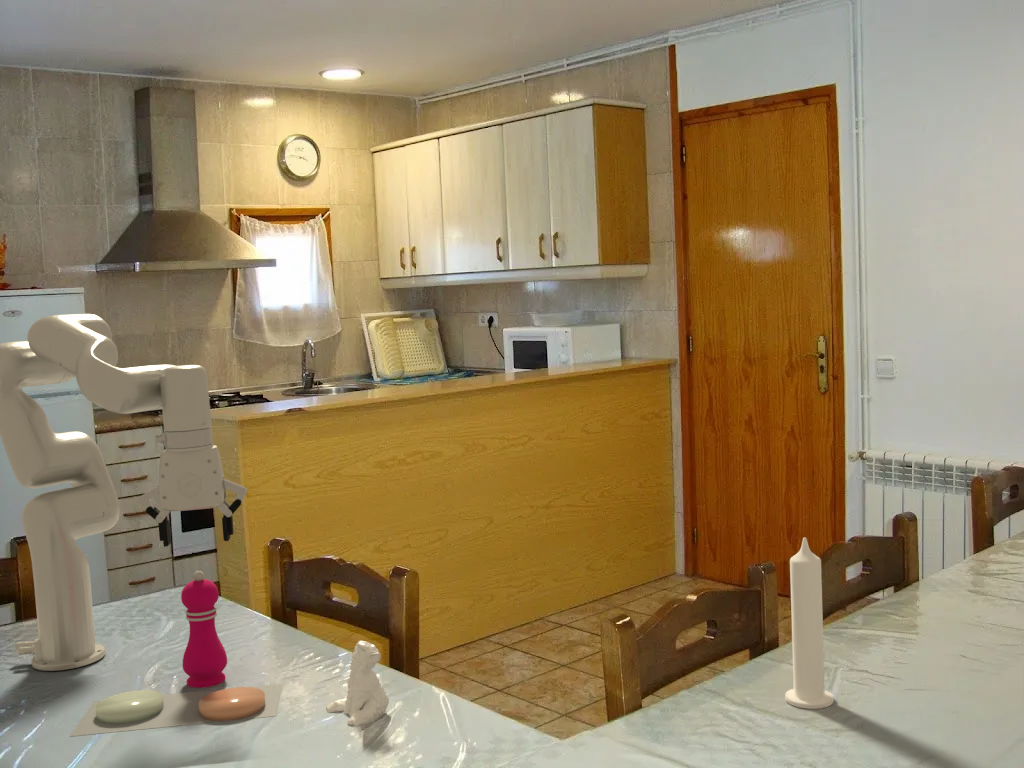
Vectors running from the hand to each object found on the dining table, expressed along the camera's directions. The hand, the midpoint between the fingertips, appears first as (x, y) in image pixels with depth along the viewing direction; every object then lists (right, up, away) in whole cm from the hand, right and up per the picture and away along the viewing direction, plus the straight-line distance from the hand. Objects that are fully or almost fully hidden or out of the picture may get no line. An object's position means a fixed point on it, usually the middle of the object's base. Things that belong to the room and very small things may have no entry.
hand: (197, 542), depth 176 cm
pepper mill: (+1, -25, +2) cm, 25 cm away
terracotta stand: (+9, -24, -11) cm, 28 cm away
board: (+1, -26, -10) cm, 28 cm away
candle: (+97, -22, -16) cm, 101 cm away
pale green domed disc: (-8, -25, -10) cm, 28 cm away
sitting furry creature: (+29, -25, -14) cm, 41 cm away
